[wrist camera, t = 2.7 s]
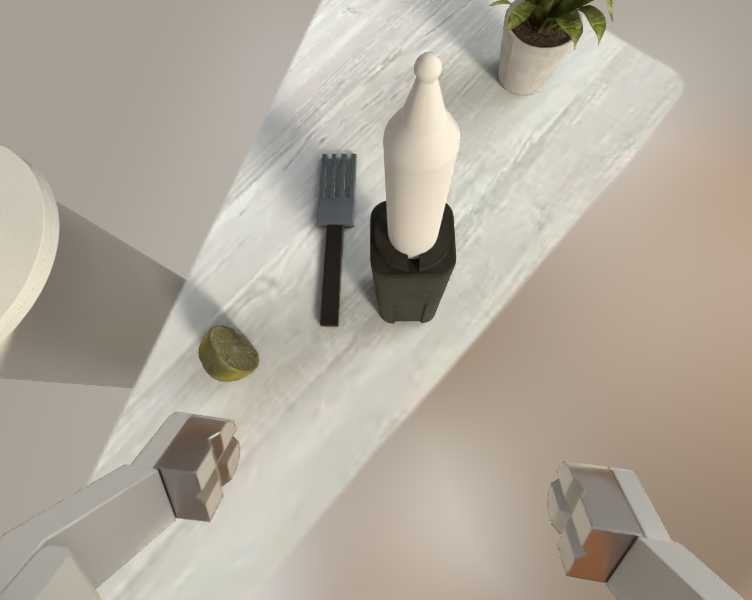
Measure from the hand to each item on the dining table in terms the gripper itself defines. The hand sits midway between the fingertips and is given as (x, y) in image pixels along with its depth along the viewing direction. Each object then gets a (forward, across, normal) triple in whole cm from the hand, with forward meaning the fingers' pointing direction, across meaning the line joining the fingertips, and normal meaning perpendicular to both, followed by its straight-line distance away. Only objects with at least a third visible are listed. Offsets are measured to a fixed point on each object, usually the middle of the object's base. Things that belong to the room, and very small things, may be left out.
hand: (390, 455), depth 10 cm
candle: (+25, 0, +9) cm, 26 cm away
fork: (+28, +8, +5) cm, 30 cm away
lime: (+20, +14, +14) cm, 28 cm away
